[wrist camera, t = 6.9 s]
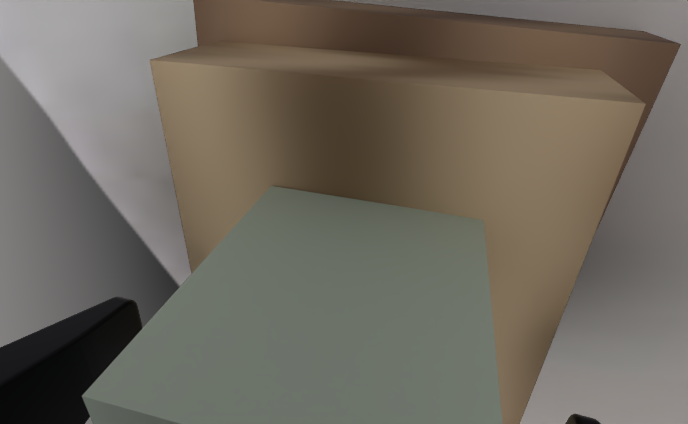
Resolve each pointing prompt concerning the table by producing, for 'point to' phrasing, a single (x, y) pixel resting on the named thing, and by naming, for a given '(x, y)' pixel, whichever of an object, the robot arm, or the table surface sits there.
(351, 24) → the walnut slab
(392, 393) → the sage block
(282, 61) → the oak slab
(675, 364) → the table surface
